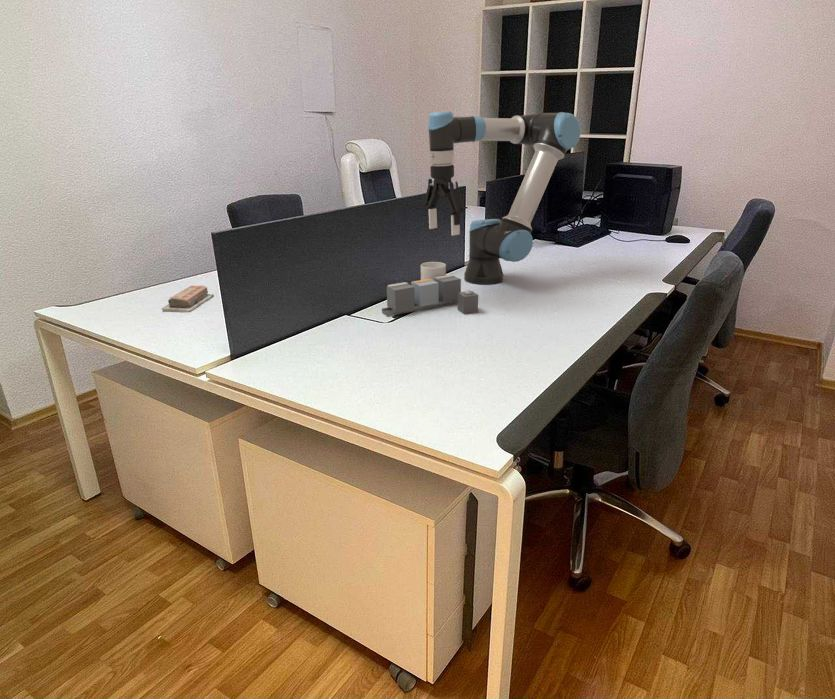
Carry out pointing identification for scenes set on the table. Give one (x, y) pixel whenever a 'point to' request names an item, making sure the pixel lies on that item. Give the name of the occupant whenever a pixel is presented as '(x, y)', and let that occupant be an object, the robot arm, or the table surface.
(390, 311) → the rail
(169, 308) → the packaged product
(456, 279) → the mounted modules
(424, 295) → the block
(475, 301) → the block
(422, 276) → the mug
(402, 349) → the table surface
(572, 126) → the robot arm
